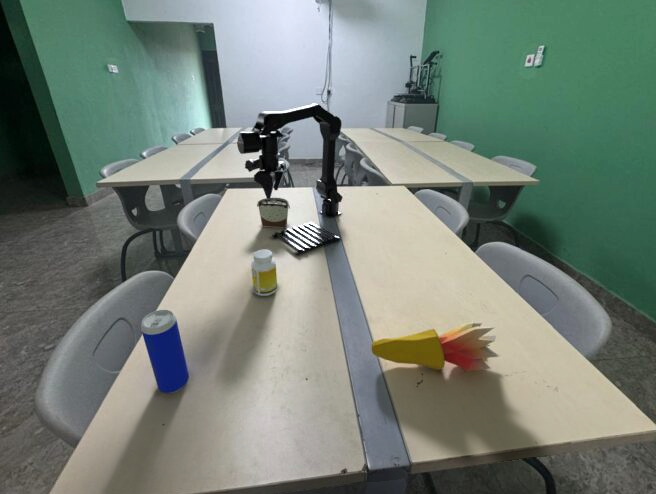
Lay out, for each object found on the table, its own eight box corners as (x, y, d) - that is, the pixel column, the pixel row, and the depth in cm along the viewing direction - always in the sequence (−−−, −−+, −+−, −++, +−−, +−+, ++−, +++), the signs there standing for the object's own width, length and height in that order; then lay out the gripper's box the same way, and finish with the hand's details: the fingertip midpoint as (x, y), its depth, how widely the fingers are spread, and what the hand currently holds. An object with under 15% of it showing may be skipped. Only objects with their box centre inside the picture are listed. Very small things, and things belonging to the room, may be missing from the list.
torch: (372, 368, 67) (491, 357, 66) (376, 385, 59) (511, 373, 58) (368, 329, 67) (486, 317, 67) (371, 340, 59) (505, 327, 59)
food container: (293, 222, 125) (293, 198, 121) (290, 228, 120) (289, 203, 115) (263, 219, 126) (261, 196, 122) (258, 226, 121) (256, 201, 116)
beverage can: (165, 371, 60) (148, 308, 54) (193, 370, 61) (179, 307, 54) (153, 396, 55) (133, 330, 49) (183, 394, 56) (167, 329, 50)
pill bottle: (281, 285, 86) (279, 250, 82) (269, 299, 81) (267, 262, 76) (261, 281, 88) (258, 246, 83) (249, 293, 83) (245, 257, 78)
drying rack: (312, 224, 123) (312, 221, 123) (339, 240, 112) (339, 236, 112) (272, 237, 112) (272, 233, 112) (297, 255, 101) (297, 251, 101)
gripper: (256, 144, 117) (259, 185, 124) (236, 155, 100) (241, 201, 107) (285, 146, 116) (287, 186, 123) (270, 157, 99) (273, 203, 106)
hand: (272, 194), depth 115 cm, fingers open, 9 cm apart
